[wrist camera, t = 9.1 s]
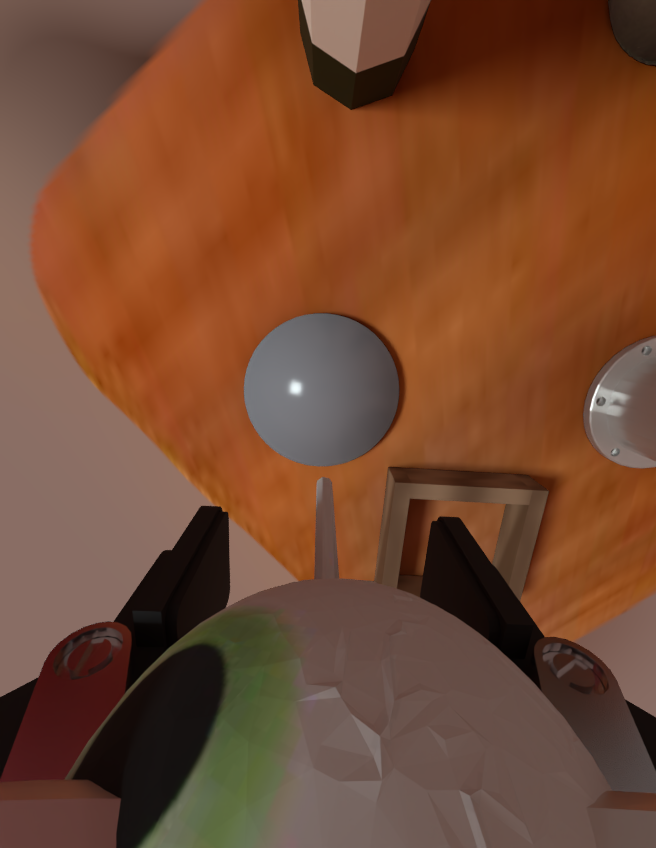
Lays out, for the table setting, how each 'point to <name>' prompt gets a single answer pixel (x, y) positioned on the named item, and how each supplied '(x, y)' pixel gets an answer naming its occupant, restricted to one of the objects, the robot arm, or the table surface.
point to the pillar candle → (635, 27)
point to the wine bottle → (359, 45)
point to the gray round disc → (321, 389)
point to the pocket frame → (509, 489)
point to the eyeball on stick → (340, 730)
